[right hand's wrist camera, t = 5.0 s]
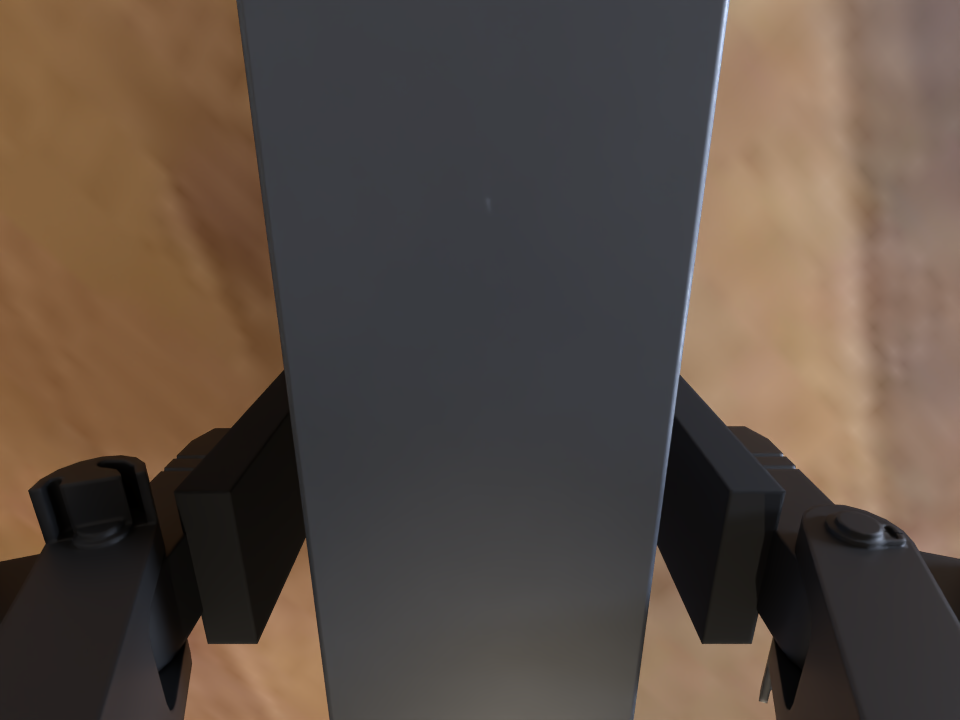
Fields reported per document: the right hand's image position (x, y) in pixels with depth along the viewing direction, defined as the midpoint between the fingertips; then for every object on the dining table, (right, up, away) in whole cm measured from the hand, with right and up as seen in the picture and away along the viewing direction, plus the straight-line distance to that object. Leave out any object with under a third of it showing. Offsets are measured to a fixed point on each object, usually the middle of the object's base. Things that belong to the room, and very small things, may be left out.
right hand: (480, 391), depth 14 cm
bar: (0, +9, -3) cm, 9 cm away
